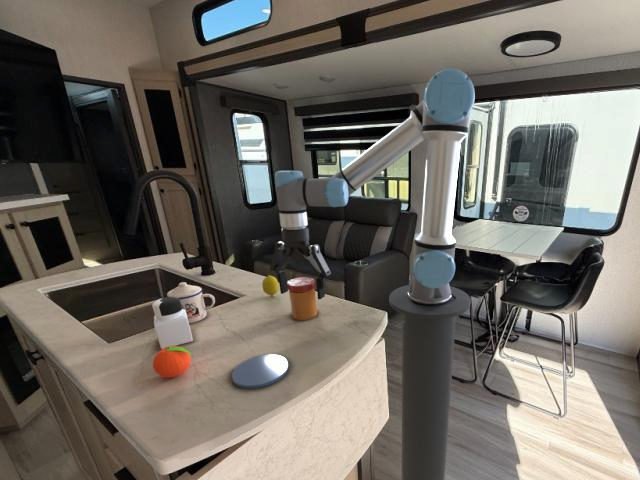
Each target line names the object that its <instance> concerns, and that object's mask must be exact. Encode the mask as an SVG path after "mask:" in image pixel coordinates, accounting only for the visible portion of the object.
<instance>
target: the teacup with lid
mask: <svg viewBox="0 0 640 480" xmlns="http://www.w3.org/2000/svg"><path fill="white" fill-rule="evenodd" d="M166 297H176V298H179V299H180V302H181V305H182V309H185V310H186V314H187V318H188V322H189V324H193V323H196V322H200V321H202V320H203V319H205V318H206V317H207V315H208V313H207V310H209V309H212V308H213V307H214V305H215V303H216V298H215V296H214V295H212V294H210V293H203V288H202V287H201V286H198V285H191V284H187V282H185V281H182V282H179V283H178V285H177V287H175V288H172V289H171V290H169V291H168V292H167V294H166ZM204 298H210V299H211V304H210V305H208V306H206V305H205V300H204Z"/></svg>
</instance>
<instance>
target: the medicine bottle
mask: <svg viewBox="0 0 640 480" xmlns="http://www.w3.org/2000/svg"><path fill="white" fill-rule="evenodd" d="M151 307H152V311H153V314H154V316H153V327H154V331H155V333H156V338H157V340H158V344H159V348H160V350H162V349H164V348H166V347H169V346H180V345H184V344H187V343H191V342H193V341H194V337H193V334H192V330H191V327H190V323H189V322H188V318H187V314H186V310H185V309H182V305H181V302H180V299H179V298H176V297H167V296H166V297H162V298H159V299H157V300H155V301H153V302H152V304H151Z"/></svg>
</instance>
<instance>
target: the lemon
mask: <svg viewBox="0 0 640 480" xmlns="http://www.w3.org/2000/svg"><path fill="white" fill-rule="evenodd" d="M261 284H262V290H263V292H264V293H265V294H266V295H268V296H271V297H274V296H275V295H276V294H277V293H278V292H279V291H280V285H279V283H278V281H277V277H275V276H273V275H270V274H269V275H267V276H265V277H264V278H263V279H262V283H261Z"/></svg>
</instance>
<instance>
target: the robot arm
mask: <svg viewBox="0 0 640 480" xmlns="http://www.w3.org/2000/svg"><path fill="white" fill-rule="evenodd" d="M475 92H476V91H475V87H474V84H473V82H472V80H471V79H470V76H468V74H467V73H465V72H464V71H462V70H460V69H457V68H445V69H442V70H440V71H438V72H437V73H435V74H434V75H433V76H432V77H431V78H430V80H429V81H428V82H427V84H426V86H425V89H424V91H423V99H422V100H421V101H420V103H419V104H418V105H416V107H415V108H413V109H412V110H410V114H409V117H408V118H406V119H405V120H404V121H402V122H401V123H400V124H399V125H397V126H396V127H395V128H393V129H392V130H391V131H389V132H388V133H387V134H386V135H385V136H383V137H381V138H380V139H379V140H378V141H377V142H375V143H374V144H372V145H371V146H370V147H369V148H368V149H366V150H365V151H364V152H362V153H361V154H360V155H359V156H357V157H355V158H354V159H353V160H352V161H351V162H350V163H348V164H347V165H345V166H344V167H343V168H342V169H340V170H338V172H336V173H335V174H334V175H332V176H331V177H326V178H325V177H324V178H307V177H304V173H303V171H301V170H278V171H276V172H275V174H274V184H275V186H274V187H275V188H274V189H275V193H276V199H277V206H278V215H279V224H280V227H281V238H282V240H280V241H278V242H277V241H276V242H275V243H274V252H273V257H272V259H271V263H270V266H269V271H271V272H274V273H275V274H276V279H277V281H278V283H279V292H280V294H281V295H284V294H286V293H287V292H289V290H288V287H287V282H288V279H287V272H286V271H285V268H286V267H287V265H288V264H289V263H290V261H291V260H293V259H294V260H295V259H297V260H302V261H303V262H305V263H306V264H307V265H308V267H309V268H310V270H312V272H313V273H314V275H316V277H317V278H315V285H316V290H317V291H316V292H317V293H316V294H317V300H322V299H323V298H324V297H326V293H325V288H326V287H327V281H326V279H327V278H328V277H330V276H331V275H332V272H331V270H330V268H329V266H328V264H327V263H326V260H325V258H324V256H323V254H322V252H321V248H320V245H319V244H314V245H313V244H312V245H310V242H309V241H310V232H309V227H308V225H309V221H308V213H307V212H308V211H307V207H328V208H329V207H331V208H338V207H345V206H347V205H348V202H349V197H350V196H351V195H353V194H354V193H355V192H356V191H358V189H360V188H361V187H363V186H364V185H365V184H367V183H368V182H369V181H371V180H372V179H374V178H375V177H377V176H378V175H379V174H380V173H382V172H383V171H385V170H387V168H389V167H391V166H392V164H394V163H396V162H397V161H398V160H400V159H401V158H403V157H404V156H405V155H406V154H408V153H409V152H410V151H412V150H413V149H415V148H416V147H417V146H419V145H420V144H422V143H423V142H426V154H425V155H426V157H425V169H424V183H423V198H422V210H421V211H422V212H421V213H422V214H421V225H420V227H421V228H420V232H417V233H415V234H414V237H413V264H412V272H413V273H412V274H413V276H412V279H411V282H410V284H409V285H410V288H409V290H408V299H409V300H410V301H411V302H413V303H416V304H419V305H424V306H439V305H444V304H446V303H448V302H450V301H451V296H452V297H453V298H454V299H456V296H454V295H453V294H452V293H451V289H450V282H451V281H452V280H453V278H454V276H455V272H456V262H455V254H456V253H455V251H456V244H457V240H456V239H455V238H454V236H453V235H452V230H453V221H454V211H455V202H456V193H457V181H458V172H459V163H460V154H461V143H462V142H463V141H464V139H465V138H467V137H468V136H469V135H468V134H469V125H470V118H471V112H472V110H473V108H474V104H475V99H476V98H475V97H476V96H475V95H476V93H475ZM284 251H286V252H285V253H284ZM283 253H284V254H283ZM282 257H283V258H282Z"/></svg>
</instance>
